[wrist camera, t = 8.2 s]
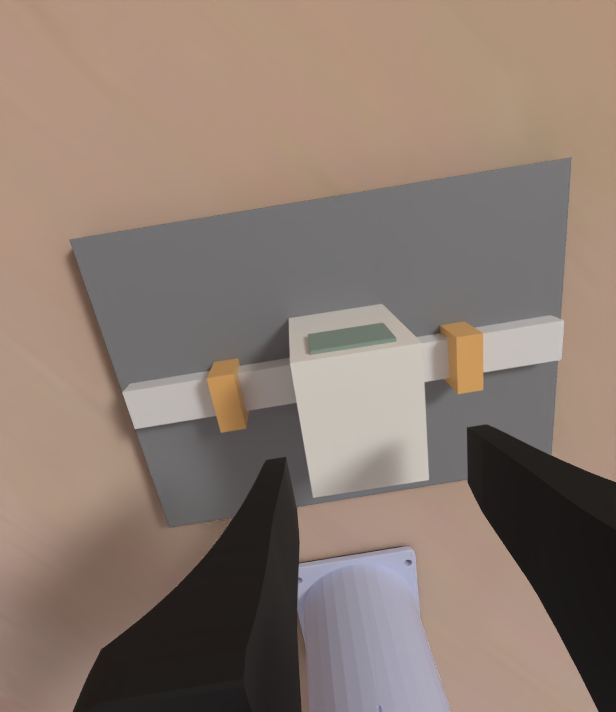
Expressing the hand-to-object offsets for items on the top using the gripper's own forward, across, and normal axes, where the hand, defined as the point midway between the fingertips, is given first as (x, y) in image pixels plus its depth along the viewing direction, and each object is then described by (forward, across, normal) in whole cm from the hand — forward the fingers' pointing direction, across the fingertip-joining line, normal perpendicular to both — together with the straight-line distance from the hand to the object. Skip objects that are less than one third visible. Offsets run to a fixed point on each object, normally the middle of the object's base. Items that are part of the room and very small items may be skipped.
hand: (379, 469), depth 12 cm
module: (+8, 0, 0) cm, 8 cm away
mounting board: (+9, 0, 0) cm, 9 cm away
